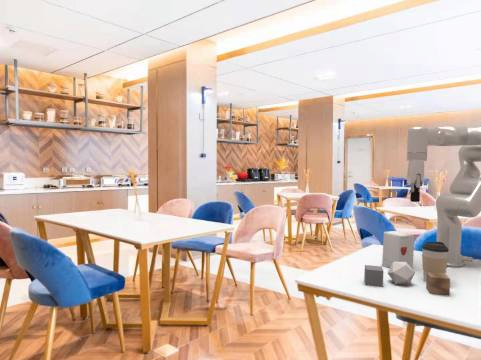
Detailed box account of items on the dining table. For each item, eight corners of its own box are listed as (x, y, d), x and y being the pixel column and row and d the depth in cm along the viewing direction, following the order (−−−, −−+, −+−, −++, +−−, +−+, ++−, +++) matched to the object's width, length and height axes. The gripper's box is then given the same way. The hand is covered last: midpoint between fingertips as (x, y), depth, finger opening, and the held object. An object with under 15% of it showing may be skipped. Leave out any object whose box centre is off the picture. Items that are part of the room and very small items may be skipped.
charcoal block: (381, 282, 135) (381, 266, 135) (382, 287, 130) (383, 271, 129) (364, 280, 137) (364, 264, 137) (365, 285, 131) (365, 269, 131)
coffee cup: (437, 287, 131) (439, 246, 130) (415, 279, 139) (416, 241, 138) (452, 283, 135) (454, 244, 134) (430, 276, 143) (431, 239, 142)
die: (411, 290, 128) (422, 267, 131) (389, 277, 130) (400, 254, 132) (401, 290, 136) (411, 268, 139) (380, 278, 137) (391, 256, 140)
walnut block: (444, 290, 128) (445, 273, 127) (449, 296, 122) (450, 278, 122) (426, 288, 129) (426, 272, 129) (429, 294, 124) (430, 277, 123)
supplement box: (398, 271, 149) (399, 235, 148) (381, 265, 157) (382, 231, 156) (413, 268, 153) (415, 234, 152) (396, 263, 161) (398, 230, 160)
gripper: (403, 157, 156) (402, 199, 156) (410, 156, 141) (408, 203, 142) (422, 157, 154) (420, 200, 154) (431, 157, 139) (429, 204, 140)
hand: (414, 201), depth 148 cm, fingers closed
